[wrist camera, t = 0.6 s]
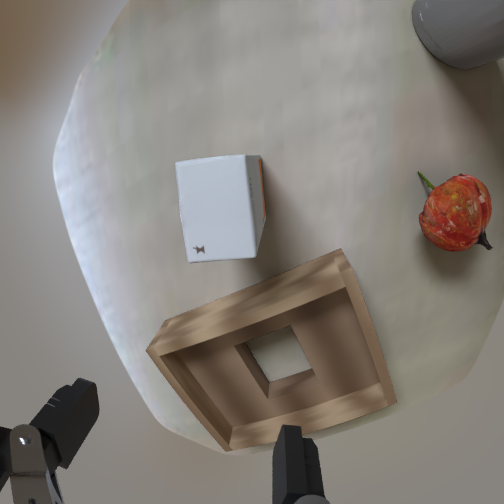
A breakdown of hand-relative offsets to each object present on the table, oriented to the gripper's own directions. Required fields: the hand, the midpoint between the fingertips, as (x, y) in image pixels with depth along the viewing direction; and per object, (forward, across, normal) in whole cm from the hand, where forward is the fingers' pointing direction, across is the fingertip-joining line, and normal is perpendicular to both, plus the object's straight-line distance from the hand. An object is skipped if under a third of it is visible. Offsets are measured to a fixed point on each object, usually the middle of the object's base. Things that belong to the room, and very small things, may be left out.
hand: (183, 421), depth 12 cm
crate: (+21, -6, +8) cm, 23 cm away
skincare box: (+20, 0, -8) cm, 22 cm away
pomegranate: (+19, -19, -11) cm, 29 cm away
